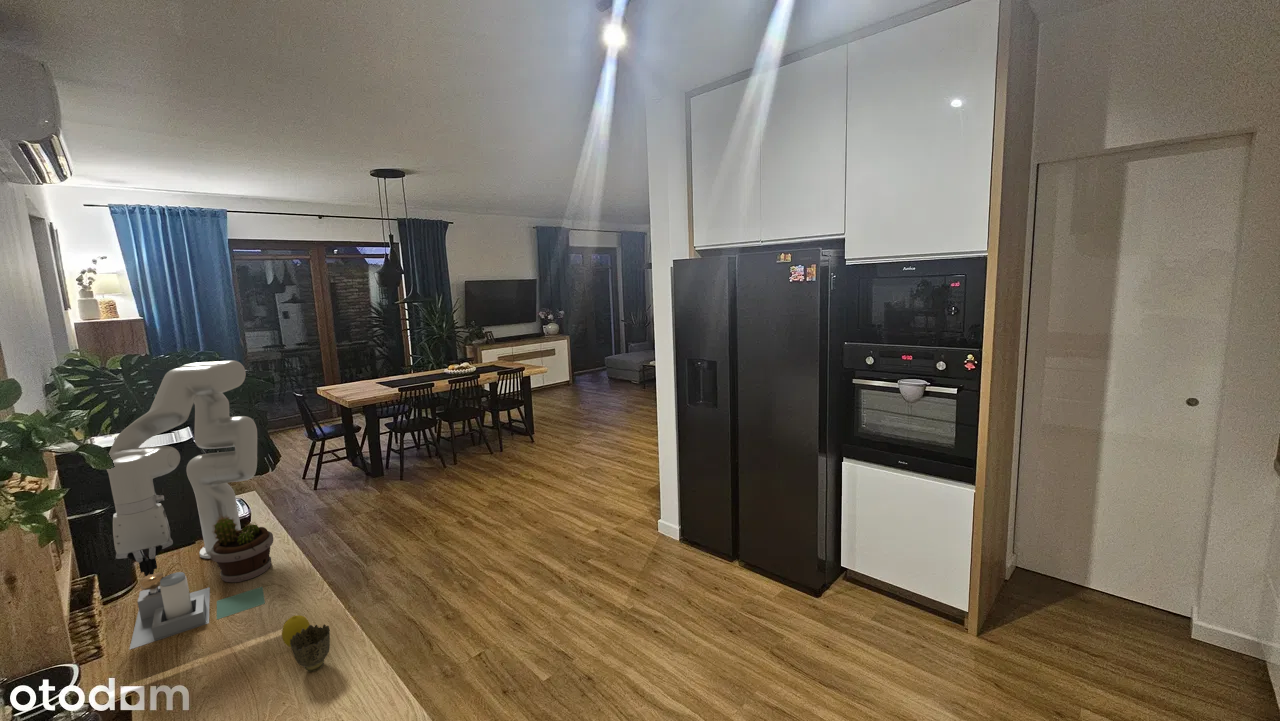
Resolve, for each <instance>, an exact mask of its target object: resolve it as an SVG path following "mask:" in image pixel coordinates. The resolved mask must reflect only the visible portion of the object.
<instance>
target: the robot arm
mask: <svg viewBox="0 0 1280 721" xmlns="http://www.w3.org/2000/svg"><path fill="white" fill-rule="evenodd" d="M245 379H246V368H245V366H244V365H243V364H242V363H241V362H240V361H237V360H220V361H219V360H217V361H201V362H200V361H199V362H191V363H186V364H183V365H181V366H179V367H177V368H173V369H170V370H169V371H167V372H166V373H165V374H164V376H163V378H162V381H161V383H160V385H159V388H158V390H157V392H156V395H155V397H154V400H153V402H152V404H151V406H150V408H149V410H148V411H147V412H146V413H144V414H142V415H141V416H139V417H138V418H137V419H135V420H134V421H133V422H132V423H130V424H129V425H128V426H127V427H125V428H124V429H122V430H121V431H120V433H118V434H117V436H116V438H115V439H114V441H113V443H112V446H111V448H110V450H109V452H108V454H109V455H110V457H111V459H112V460H113V463H114V466H115V467H114V468H111V469H106V472H107V473H108V478H109V483H110V488H111V495H112V499H113V503H114V507H115V508H114V509H115V513H113V515H112V535H113V544H114V550H115V559H117V560H120V559H121V560H122V559H130V560H134V561H136V563H138V566H139V570H140V574H141V573H142V574H144V577H146V576H148V575H152V574H155V570H157V569H158V565H157V563H158V562H157V559H156V557H157V556H158V554H159V553H160V552H161V551H162V550H164V549H166V548H168V547H170V546H172V545H173V544H174V541H173V539H172V538H171V529H170V525H169V521H168V517H167V514H166V511H165V508H164V506H163V505H162V503H159V502H162V501H165V496H164V495H163V494H162V495H161V494H160V495H159V494H157V493H156V490H155V486H154V480H153V479H155V478H158V477H162V476H165V475H167V474H170V473H172V472H173V471H174V470H175V469H177V467H179V464H180V461H181V454H180V452H179V450H177V448H175V447H173V446H169V445H157V446H145V447H140V446H141V445H143V444H144V443H145V442H147V441H148V440H149V439H151V438H153V437H155V436H157V435H160V434H162V433H164V432H167V431H169V430H172V429H174V428H176V427H178V426H181V425H182V424H184V423H186V421H187V420H188V419H189V417H190V414H191V412H192V409H193V406H194V442H195V445H196V446H197V447H198V448H200V449H203V450H212V449H224V448H225V449H226V448H234V449H235V450H231V451H221V452H209V453H203V454H198V455H196V456H194V457H193V458H191V459H189V461H188V463H187V464H186V468H185V469H186V470H185V471H186V475H187V478H188V481H189V482H190V485H191V488H192V490H193V492H194V496H195V501H196V506H197V511H198V516H199V523H200V527H201V534H202V539H203V543H204V546H202V548H200V549H199V557H200V558H202V559H210V560H212V559H211V557H210V551H211V549H212V547H213V545H214V544H215V543H216V541H218V538H215V537H217V535H216V533H215V534H214V535H216V536H214V535H213V533H214V532H213V531H215V528H214V526H212V525H216V524H217V522H218V519H219V520H220V517H221V515H222V517H226V518H228V517H230V516H231V517H230V519H231V520H232V518H233V520H234V521H235V522H234V523H236V524H237V525H238V526H237V525H236V526H235V527H236V528H235V529H237V531H238V530H242V528H241V522H240V516H239V509H238V504H237V498H236V494H235V490H234V489H233V488H232V487H231V485H230V484H228V483H234V482H235V483H237V482H243V481H248V480H251V479H252V478H253V477H255V475H256V472H257V468H258V429H257V424H256V423H255V421H254V419H253V418H251V417H249V416H245V415H240V416H239V415H238V416H230V402H229V399H228V398H227V397H226V395H225V394H224V393H226V392H229V391H232V390H234V389H236V388H239V387H240V386H241V385H243V383H244V382H245ZM226 515H227V516H226ZM217 517H218V518H217ZM222 517H221V518H222ZM238 523H239V524H238ZM212 528H214V530H213V529H212ZM214 538H215V539H216V540H215V539H214ZM147 549H148V555H147V556H146V555H145V554H144V552H143V550H147Z"/></svg>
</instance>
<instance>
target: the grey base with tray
mask: <svg viewBox="0 0 1280 721" xmlns="http://www.w3.org/2000/svg"><path fill="white" fill-rule="evenodd" d="M158 590H159V593H156V594H153V595H151V594H150V589H149V590H140V591H139V593H138V598H137V607H138V610H137V611H138V612H137V615H136V620H135V624H134V628H133V632H132V636H131V642H130V644H129V649H128V650H133V649H137V648H140V647H142V646H145V645H149V644H151V643H154V642H158V641H159V640H163V639H166V638H169V637H172V636H175V635H179V634H181V633H185V632H186V631H190V630H193V629H196V628H198V627H199V628H200V627H202V626H204V625H208V624H210V603H211V602H210V601H211V600H210V599H211V596H210V595H211V594H210V593H211V592H210V590H211V588H210V586H208V587H206V588H203V589H199V590H195V591H193V592H189V593H190V598H191V603H192V609H193V612H192V613H189V614H186V615H183V616H180V617H177V618H173V619H170V620H167V619H166V614H165V609H164V604H163V599H162V594H161V589H160V586H158Z"/></svg>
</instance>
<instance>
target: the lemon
mask: <svg viewBox="0 0 1280 721" xmlns="http://www.w3.org/2000/svg"><path fill="white" fill-rule="evenodd" d="M310 625H311V623H310V622H309V620H308V619H307V617H306V616H304V615H301V614H298V615H296V614H295V615H292V616H290V617H289V618H288V619H287V620H286V621H285V623H284V624H283V626H282V632H281V637H282V638H281V639H282V641H283V643H284V644H285V645H286V646H287V647H288V648H291V645H290V643H291V642H290V639H292V637H293V635H294V636H295V635H296V633H297V632H298V633H300V634H301V631H302V629H304V630H306V629H307V628H308V627H309V626H310Z"/></svg>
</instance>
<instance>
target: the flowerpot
mask: <svg viewBox="0 0 1280 721" xmlns="http://www.w3.org/2000/svg"><path fill="white" fill-rule="evenodd" d="M226 516H227V515H226ZM221 517H222V515H221ZM221 517H220V520H219V519H218V522H217V524H216V525H212V526H214V528H215V531H213V532H214V533H213V535H214V534H215V533H216V535H217V537H215V538H218V541H216V543H215V544H214V545H213V547H212V549H211V551H210V557H211V559H210V560H211V561H213V562H214V563H216V564H217V566H218V568H219V570H220V573H219V574H220V579H221V580H222V581H223V582H226V583H240V582H245V581H248V580H252V579H254V578H256V577H258V576H259V577H260V575H262V574H264V573H266V571H268V570H269V569H270V567H271V566H272V557H271V556H270V555H271V554H270V553H271V546H272V545H273V543H274V534H273V533H272V531H269V530H267V528H266V527H263V526H259V525H258V524H257V522H251V521H249V522H247V521H246V524H244V527H243V528H241V530H238V531H237V529H235V528H236V527H235V526H236V525H237V524H236V523H234V522H235V521H234V520H233V518H232V520H231V519H230V517H231V516H230V517H228V518H226V517H222V518H221ZM217 518H218V517H217ZM250 522H251V523H250ZM238 524H239V523H238ZM237 526H238V525H237ZM214 528H212V529H213V530H214ZM216 535H214V536H216ZM215 538H214V539H215ZM215 540H216V539H215Z"/></svg>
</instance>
